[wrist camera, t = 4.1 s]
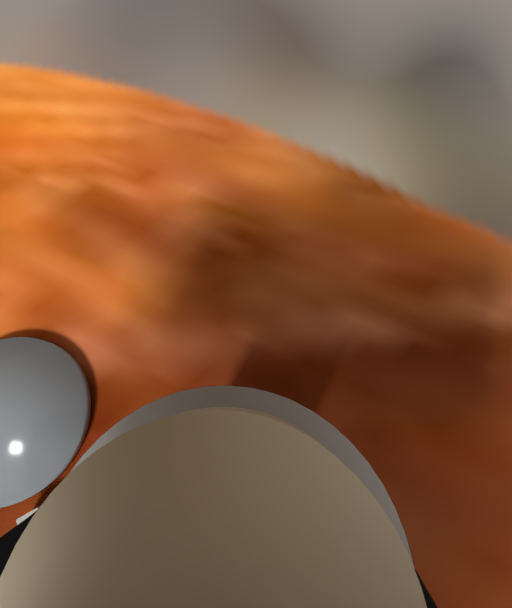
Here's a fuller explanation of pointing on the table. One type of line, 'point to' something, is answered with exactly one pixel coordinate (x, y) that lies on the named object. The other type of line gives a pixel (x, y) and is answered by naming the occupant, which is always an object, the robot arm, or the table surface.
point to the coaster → (38, 415)
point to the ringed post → (216, 515)
